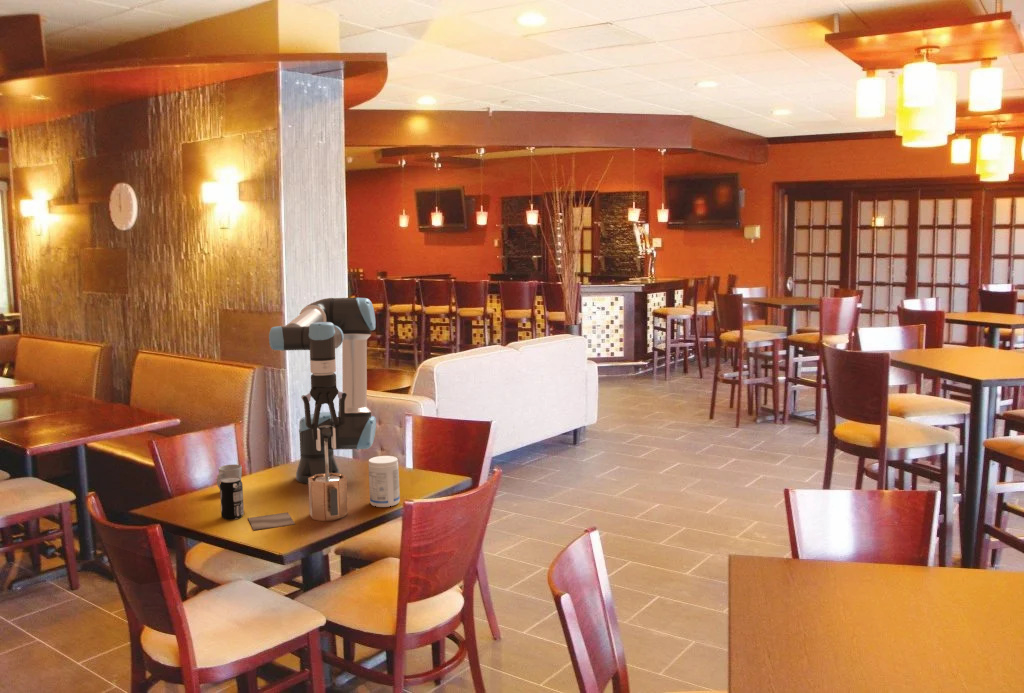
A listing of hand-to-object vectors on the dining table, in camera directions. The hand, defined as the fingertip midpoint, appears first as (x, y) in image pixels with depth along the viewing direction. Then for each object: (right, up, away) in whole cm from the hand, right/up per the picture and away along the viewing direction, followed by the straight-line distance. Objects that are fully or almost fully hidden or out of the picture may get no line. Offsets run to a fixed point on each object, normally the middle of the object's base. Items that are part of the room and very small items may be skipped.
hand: (326, 448), depth 258 cm
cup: (-39, -18, +28) cm, 52 cm away
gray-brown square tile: (-16, -22, -3) cm, 27 cm away
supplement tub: (+16, -20, +14) cm, 29 cm away
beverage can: (-29, -21, +2) cm, 36 cm away
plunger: (0, -10, +1) cm, 10 cm away
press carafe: (+1, -21, +1) cm, 21 cm away
